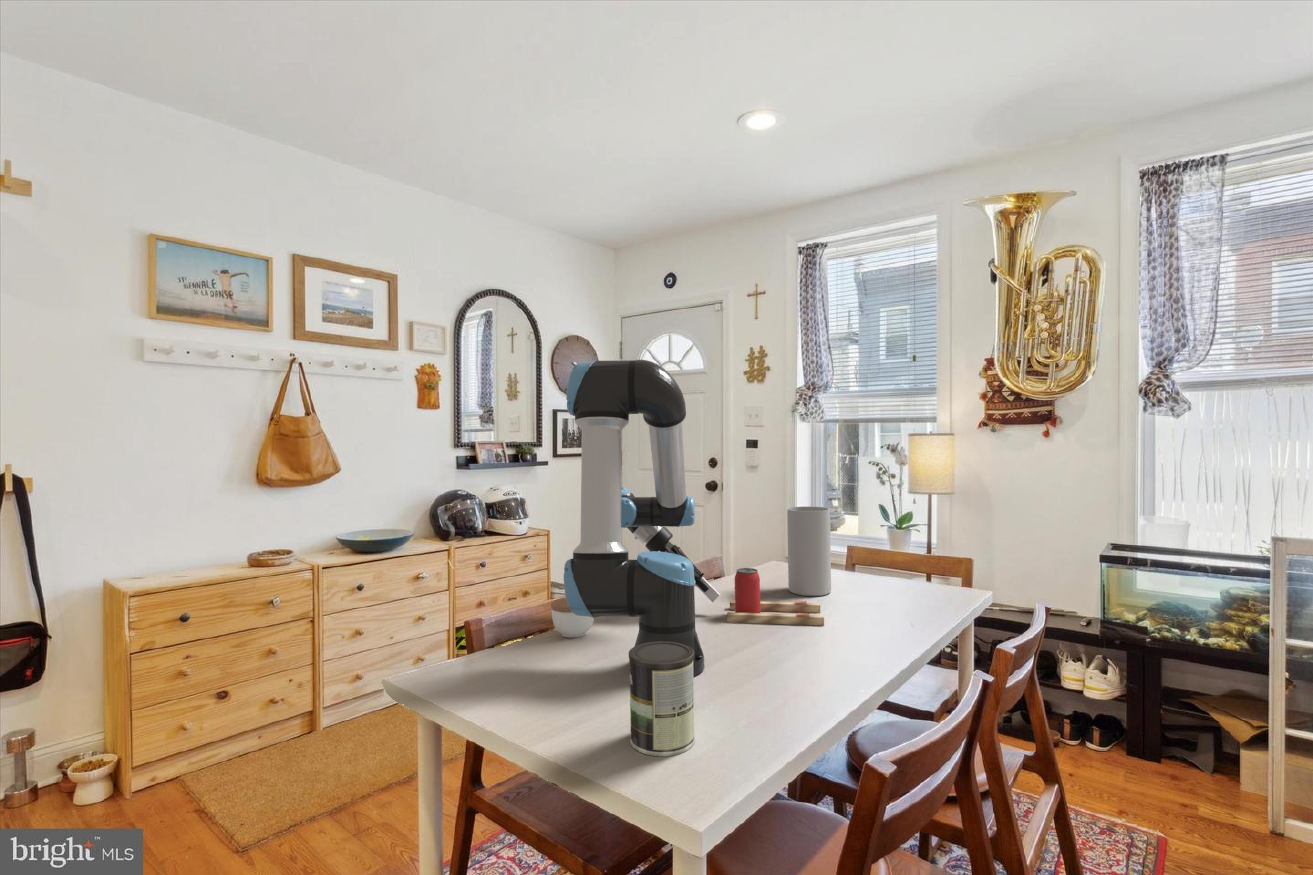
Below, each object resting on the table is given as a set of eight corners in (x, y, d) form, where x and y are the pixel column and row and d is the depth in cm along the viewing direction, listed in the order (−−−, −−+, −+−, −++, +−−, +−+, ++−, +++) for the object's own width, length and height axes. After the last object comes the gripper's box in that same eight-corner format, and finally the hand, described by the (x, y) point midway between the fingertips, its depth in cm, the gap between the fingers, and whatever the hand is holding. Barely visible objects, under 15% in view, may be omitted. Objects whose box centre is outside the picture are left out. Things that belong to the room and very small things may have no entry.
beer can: (765, 614, 169) (764, 569, 169) (751, 620, 164) (750, 573, 164) (744, 610, 173) (744, 566, 173) (730, 615, 168) (729, 570, 168)
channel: (727, 622, 163) (726, 612, 163) (730, 607, 176) (730, 599, 176) (824, 625, 158) (823, 615, 158) (819, 610, 172) (819, 601, 172)
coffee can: (620, 752, 97) (619, 659, 97) (641, 722, 107) (640, 638, 107) (686, 761, 94) (685, 665, 94) (701, 729, 104) (700, 643, 104)
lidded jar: (574, 643, 148) (573, 603, 148) (542, 635, 154) (541, 596, 154) (604, 631, 157) (604, 593, 156) (573, 624, 163) (572, 587, 163)
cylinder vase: (815, 599, 184) (813, 512, 184) (780, 591, 193) (778, 509, 193) (839, 591, 192) (838, 508, 192) (804, 584, 201) (803, 505, 201)
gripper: (648, 540, 180) (708, 601, 177) (639, 549, 167) (704, 614, 164) (666, 521, 179) (727, 582, 176) (659, 529, 166) (724, 594, 163)
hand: (716, 598), depth 170 cm, fingers closed
